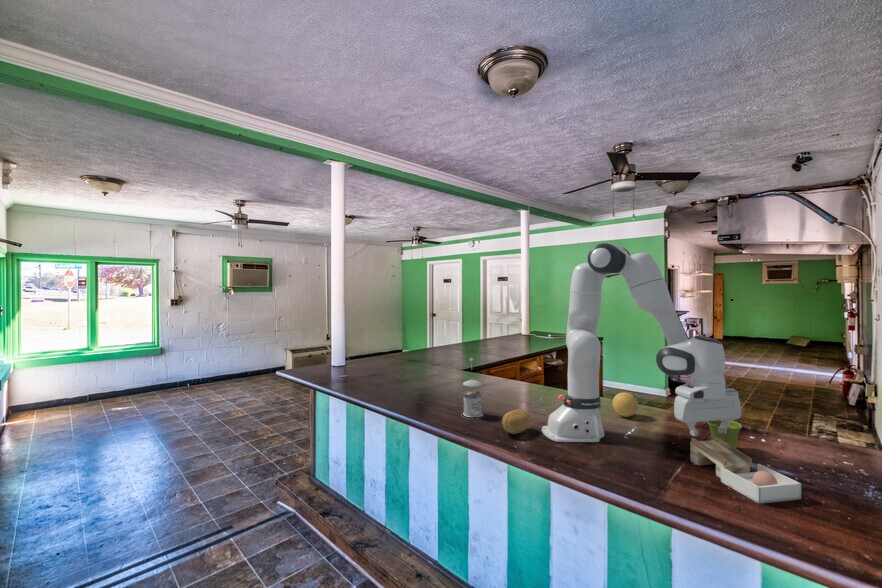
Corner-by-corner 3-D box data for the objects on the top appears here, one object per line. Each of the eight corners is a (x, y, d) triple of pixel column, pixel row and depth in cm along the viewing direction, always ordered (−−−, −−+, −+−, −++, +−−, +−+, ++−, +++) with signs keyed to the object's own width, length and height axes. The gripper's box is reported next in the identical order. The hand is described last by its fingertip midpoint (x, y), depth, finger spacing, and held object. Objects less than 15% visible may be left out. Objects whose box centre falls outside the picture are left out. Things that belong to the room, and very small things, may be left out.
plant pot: (749, 454, 124) (749, 427, 124) (722, 455, 123) (721, 428, 123) (726, 442, 133) (725, 417, 133) (700, 444, 133) (700, 419, 133)
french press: (456, 415, 168) (455, 358, 168) (472, 409, 177) (471, 354, 177) (475, 420, 162) (474, 360, 162) (490, 413, 171) (489, 356, 170)
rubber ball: (744, 473, 104) (758, 470, 100) (760, 472, 105) (775, 468, 100) (754, 494, 101) (769, 491, 97) (771, 492, 102) (786, 490, 98)
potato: (494, 435, 145) (494, 414, 145) (513, 424, 156) (512, 405, 156) (518, 441, 139) (517, 419, 138) (535, 429, 149) (535, 409, 149)
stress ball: (614, 420, 161) (631, 409, 154) (603, 398, 167) (619, 387, 160) (630, 420, 165) (648, 410, 158) (620, 399, 171) (636, 388, 164)
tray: (758, 503, 96) (758, 487, 96) (720, 481, 107) (720, 467, 107) (801, 499, 98) (801, 483, 98) (759, 477, 109) (759, 463, 109)
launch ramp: (724, 480, 108) (724, 454, 108) (690, 460, 120) (689, 437, 120) (752, 477, 109) (752, 451, 109) (716, 458, 121) (715, 435, 121)
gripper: (729, 385, 123) (729, 428, 123) (670, 388, 120) (671, 432, 121) (747, 390, 117) (747, 435, 117) (685, 394, 114) (686, 440, 114)
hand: (708, 434), depth 119 cm, fingers open, 8 cm apart
